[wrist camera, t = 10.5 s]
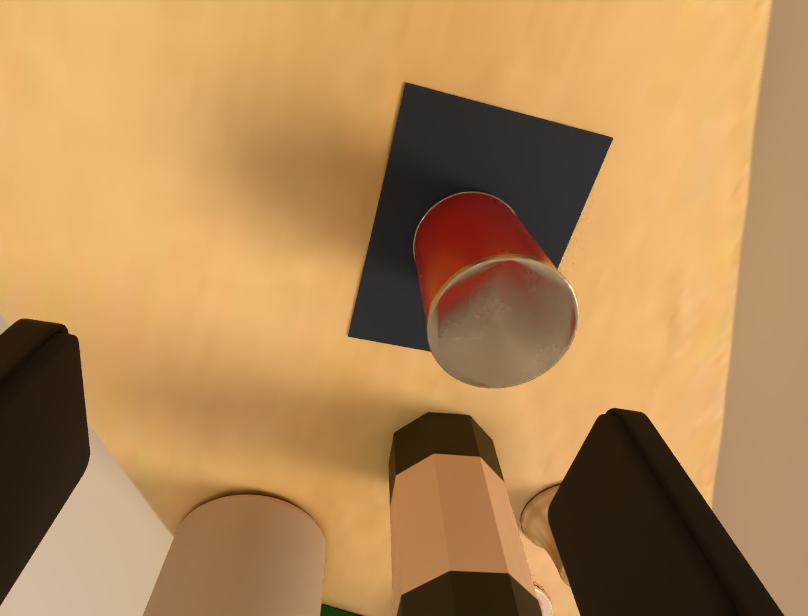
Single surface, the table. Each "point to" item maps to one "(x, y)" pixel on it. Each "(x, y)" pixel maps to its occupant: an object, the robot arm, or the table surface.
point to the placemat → (457, 171)
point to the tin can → (490, 293)
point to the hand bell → (542, 527)
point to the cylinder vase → (242, 561)
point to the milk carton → (334, 612)
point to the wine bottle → (454, 525)
